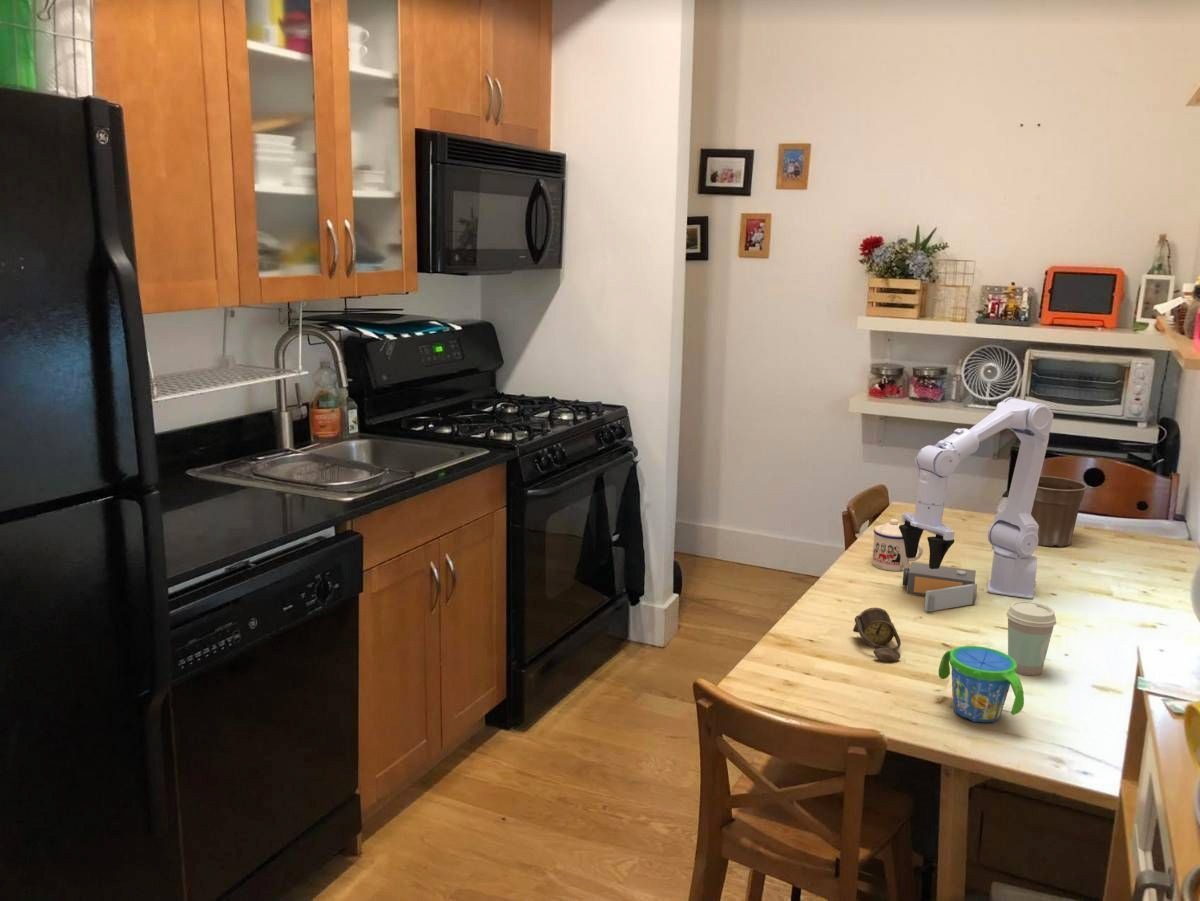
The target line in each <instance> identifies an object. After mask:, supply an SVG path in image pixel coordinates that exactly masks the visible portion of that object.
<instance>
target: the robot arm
mask: <svg viewBox="0 0 1200 901" xmlns="http://www.w3.org/2000/svg"><path fill="white" fill-rule="evenodd" d="M1053 419H1054V413H1053V412H1052V410H1051V409H1050V407H1049V406H1048V405H1047V404H1044V403H1039V402H1033V401H1030V400H1024V399H1019V398H1017V397H1013V396H1009V397H1006V398H1005V399H1004V400H1003V401H1000V402H998V403H997V404H996V407H995V409H994V411H992V412H991V413H990V414H988V415H987V416H985V417H984V418H982V420H980V421H979V422H978V423H976V424H974V425H973V426H971V428H969V429H968V428H966V427H965V428H956V429H955V430H953V433H952V434H950V435H948V436H947V437H945V438H944V439H942V440H941V439H940V440H939V441H938V442H937V443H936V444H935V445H933V444H932V445H931V444H929V445H926V446H924V447H921V449H920V450H919V451H918V454H917V456H916V457H915V458H914V462H915V463H914V464H915V466H916V468H917V476H918V484H917V492H916V501H915V508H914V509H915V510H914V514H913V513H911V512H902V513H901V520H900V522H901V523H903V524H901V525H899V529H900V531H901V534H902V537H903V540H904V545H905V552H906V557H907V558H915V557H917V555H918V551H919V548H918V545H919V543H920V541H921V537H922V535H923V533H924V531H926V532H928V533H930V534H933V535H934V536H927V542H928V546H929V547H928V548H929V560H928V564H929V568H930V569H939V567H940V566H942V565H941V564H942V563H943V562H942V561H943V560H944V557H945V556H946V554H947V552H948V551H949V549H950V548H951V547H952V546H953V544H954V543H955V533H956V532H955V531H956V530H953V529H951V528H949V527H948V526H946V525H945V524H944V523H943V517H944V510H945V509H944V508H945V502H946V501H945V500H946V494H947V486H948V478H949V476H951V475H952V474H953V473H954V472H955V470H956V468H957V466H958V465H959V464H960V462H962V461H963V460H965V459H966V458H967V457H969V456H971V455H972V454H974V453H975V452H977V451H978V449H979V448H980V443H981V442H983V441H985V440H987V439H989V438H990V437H992V436H994V435H996V434H997V433H999V432H1001V431H1004V430H1005V429H1009V430H1011V431H1012V432H1014V434H1015V435H1016V437H1017V438H1018V439H1019V441H1020V444H1019V450H1018V453H1017V458H1016V462H1015V467H1014V471H1013V475H1012V479H1011V483H1010V488H1009V493H1008V495H1007V501H1006V505H1005V508H1004V509H1003V510H1001V511H999V512H997V513H996V514H995V515H994V518H993V521H992V523H991V525H990V526H989V529H988V531H987V541H988V543H989V544H990V545H991V550H993V556H992V564H991V565H992V566H991V574H990V579H989V580H988V581H987V593H988V594H996V595H1002V596H1010V597H1018V598H1024V599H1031V600H1032V599H1034V593H1035V589H1036V585H1037V584H1036V583H1037V581H1036V575H1037V569H1038V568H1037V567H1038V557H1037V556H1036V555H1034V553H1035V552H1036V550H1037V548H1038V546H1039V545H1038V529H1039V526H1038V524H1037V522H1036V521H1035V520H1034V518H1033V517H1032V515H1031V512H1032V507H1033V503H1034V499H1035V495H1036V491H1037V486H1038V482H1039V478H1040V476H1041V474H1042V468H1043V464H1044V460H1045V458H1046V457H1045V456H1046V453H1047V448H1048V444H1049V439H1050V432H1051V427H1052V424H1053Z"/></svg>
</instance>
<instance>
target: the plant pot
mask: <svg viewBox="0 0 1200 901" xmlns="http://www.w3.org/2000/svg"><path fill="white" fill-rule="evenodd" d="M1087 489H1088V486H1087V485H1086V483H1084V482H1081V481H1077V480H1075V479H1071V478H1064V477H1058V476H1052V475H1051V476H1050V475H1049V476H1048V475H1040V478H1039V482H1038V486H1037V491H1036V495H1035V499H1034V503H1033V507H1032V512H1031V515H1032V517H1033V518H1034V520H1035V521H1036V522H1037V524H1038V526H1039V529H1038V546H1044V547H1045V546H1046V547H1054V546H1057V547H1060V548H1062V547H1067V546H1070V545H1071V544H1072V539H1073V534H1074V531H1075V527H1076V526H1075V525H1076V523H1077V519H1078V515H1079V509H1080V506H1081V503H1082V502H1083V498H1084V494H1085V491H1087Z"/></svg>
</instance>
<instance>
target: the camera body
mask: <svg viewBox="0 0 1200 901" xmlns="http://www.w3.org/2000/svg"><path fill="white" fill-rule="evenodd" d="M976 574H977V570H975V569H966V568H959V567H953V566H944V565H940V567H939V569H930V568H929V563H923V562H915V561H910V564H909V567H908V568H904V570H903V574H902V586H904V587H906V594H907V595H912V596H913V595H914V596H915V595H916V596H921V597H926V591H930V590H936V589H943V588H949V587H956V586H962V585H969V584H972V583H974V584H976Z"/></svg>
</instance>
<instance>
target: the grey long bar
mask: <svg viewBox="0 0 1200 901" xmlns="http://www.w3.org/2000/svg"><path fill="white" fill-rule="evenodd" d="M977 591H978V584H977V583H975V584H974V583H972V584H969V585H962V586H956V587H949V588H943V589H936V590H930V591H926V596H924V597H925V599H924V609H923V610H924V611H925V612H933V611H940V610H944V609H945V610H946V609H950V608H951V609H952V608H958V607H963V606H970V605H976V600H977V593H978V592H977Z"/></svg>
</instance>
